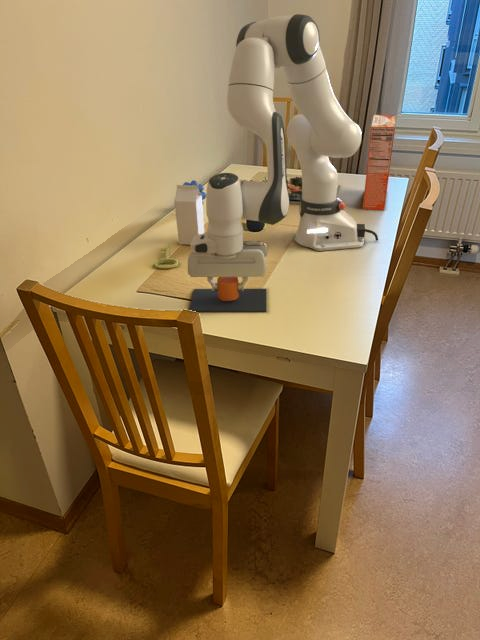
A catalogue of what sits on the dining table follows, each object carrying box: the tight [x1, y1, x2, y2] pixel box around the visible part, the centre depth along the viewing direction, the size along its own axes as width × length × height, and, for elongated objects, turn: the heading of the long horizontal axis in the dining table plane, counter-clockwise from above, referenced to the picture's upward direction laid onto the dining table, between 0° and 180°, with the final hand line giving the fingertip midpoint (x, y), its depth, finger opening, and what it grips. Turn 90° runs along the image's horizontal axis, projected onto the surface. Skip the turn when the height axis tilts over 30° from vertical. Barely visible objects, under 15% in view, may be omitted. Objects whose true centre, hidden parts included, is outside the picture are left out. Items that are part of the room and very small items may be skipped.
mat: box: [188, 288, 267, 313], centre depth 134 cm, size 20×12×1 cm, turn 88°
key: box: [153, 246, 179, 270], centre depth 155 cm, size 7×12×2 cm, turn 23°
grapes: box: [182, 179, 206, 207], centre depth 192 cm, size 12×7×12 cm, turn 73°
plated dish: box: [264, 175, 340, 205], centre depth 209 cm, size 35×28×7 cm
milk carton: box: [174, 184, 205, 246], centre depth 164 cm, size 7×7×19 cm
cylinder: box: [216, 277, 239, 301], centre depth 131 cm, size 6×6×5 cm
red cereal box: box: [362, 114, 396, 211], centre depth 192 cm, size 23×8×30 cm, turn 165°
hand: (228, 290), depth 132 cm, fingers closed on cylinder, 5 cm apart
